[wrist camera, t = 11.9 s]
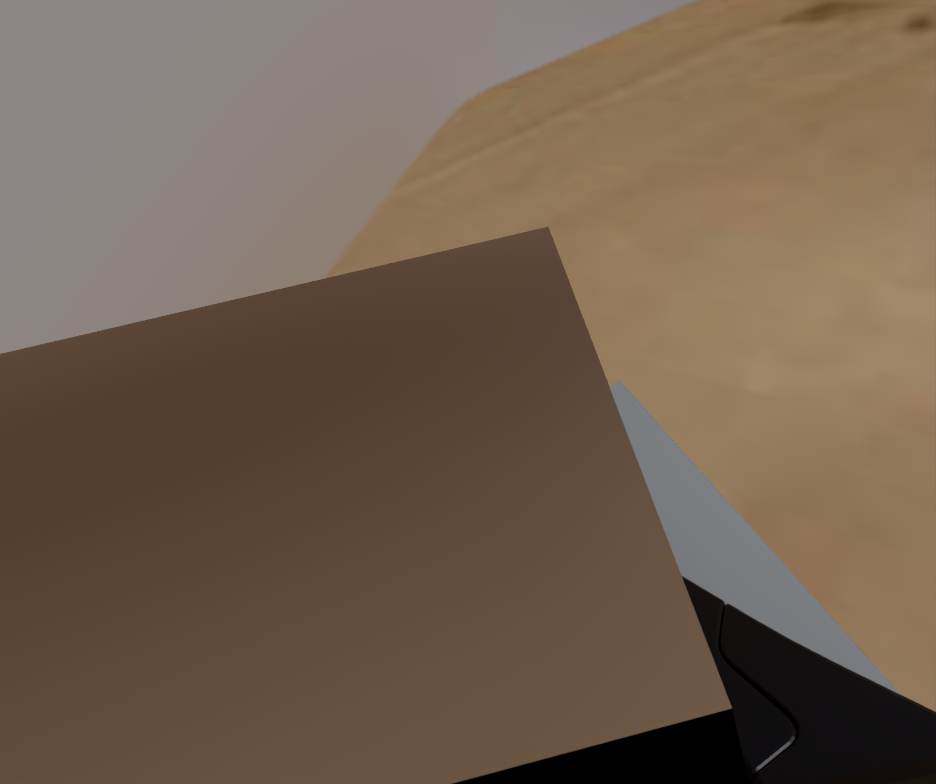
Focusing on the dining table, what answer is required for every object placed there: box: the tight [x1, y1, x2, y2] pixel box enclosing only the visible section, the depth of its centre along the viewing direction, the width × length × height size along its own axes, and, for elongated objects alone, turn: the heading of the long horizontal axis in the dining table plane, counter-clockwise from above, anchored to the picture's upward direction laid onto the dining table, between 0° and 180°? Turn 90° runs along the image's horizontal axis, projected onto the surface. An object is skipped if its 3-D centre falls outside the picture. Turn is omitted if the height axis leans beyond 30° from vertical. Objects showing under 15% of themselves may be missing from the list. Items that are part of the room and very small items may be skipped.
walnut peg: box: [0, 227, 749, 784], centre depth 8 cm, size 7×7×13 cm
